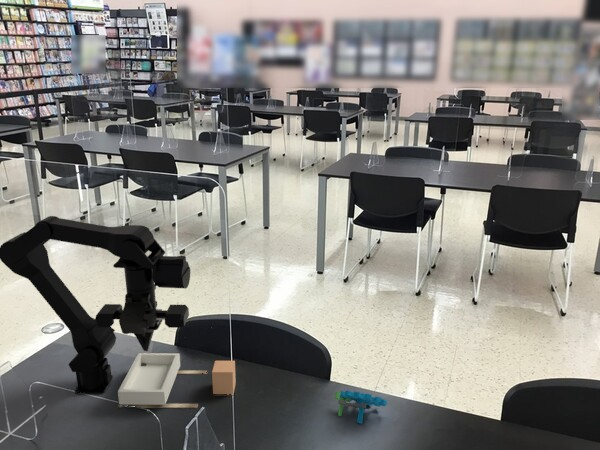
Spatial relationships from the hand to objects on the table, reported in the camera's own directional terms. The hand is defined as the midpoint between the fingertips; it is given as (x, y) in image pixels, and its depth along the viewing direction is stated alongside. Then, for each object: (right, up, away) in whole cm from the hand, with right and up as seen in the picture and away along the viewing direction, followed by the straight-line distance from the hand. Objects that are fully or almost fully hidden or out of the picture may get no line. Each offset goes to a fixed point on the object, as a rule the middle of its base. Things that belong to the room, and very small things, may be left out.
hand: (146, 349), depth 113 cm
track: (+3, -9, +3) cm, 11 cm away
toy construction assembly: (+47, -13, -4) cm, 49 cm away
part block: (+17, -10, +3) cm, 20 cm away
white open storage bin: (0, -9, +3) cm, 10 cm away
